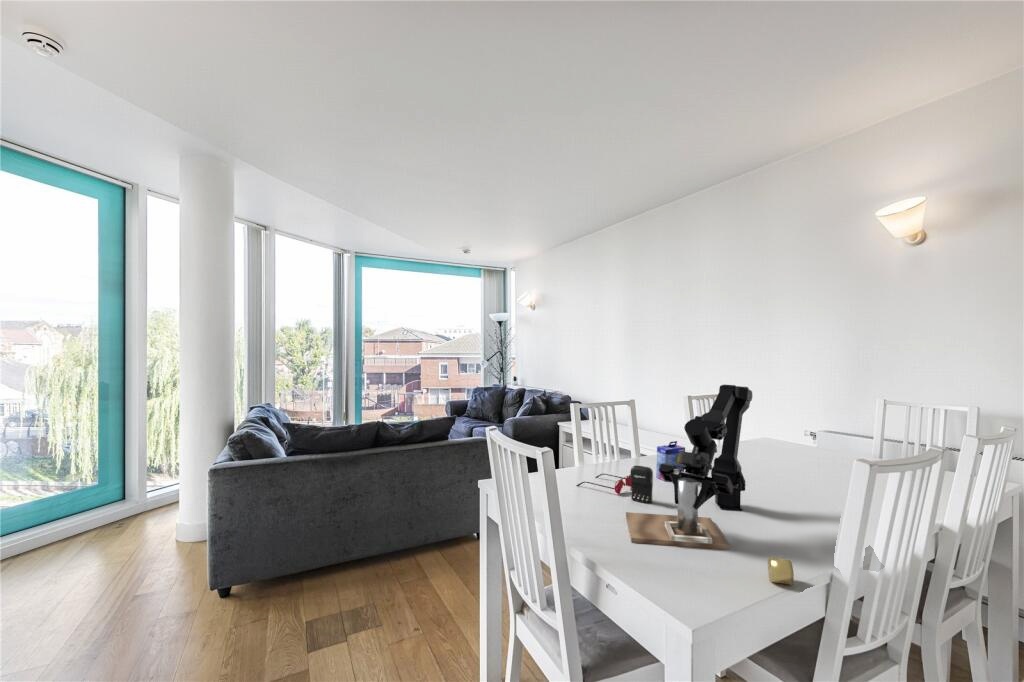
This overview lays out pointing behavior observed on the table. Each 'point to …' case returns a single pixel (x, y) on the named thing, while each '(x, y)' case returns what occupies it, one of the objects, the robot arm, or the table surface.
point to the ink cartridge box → (669, 456)
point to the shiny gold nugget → (780, 570)
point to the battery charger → (641, 483)
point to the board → (673, 531)
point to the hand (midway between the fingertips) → (685, 505)
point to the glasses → (618, 486)
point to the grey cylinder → (687, 505)
